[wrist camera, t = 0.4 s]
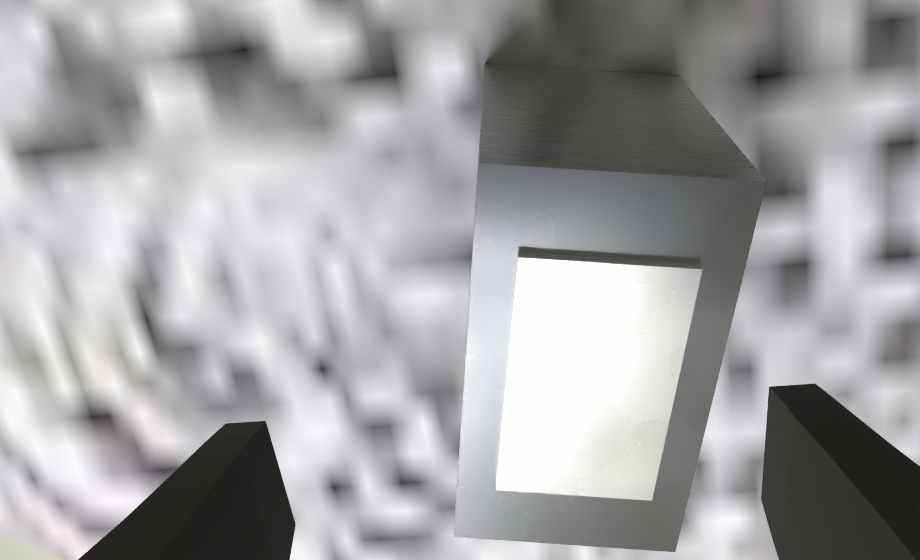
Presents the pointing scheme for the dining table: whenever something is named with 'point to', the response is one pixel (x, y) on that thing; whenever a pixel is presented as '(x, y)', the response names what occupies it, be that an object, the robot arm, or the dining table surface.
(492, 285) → the block
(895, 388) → the dining table surface
